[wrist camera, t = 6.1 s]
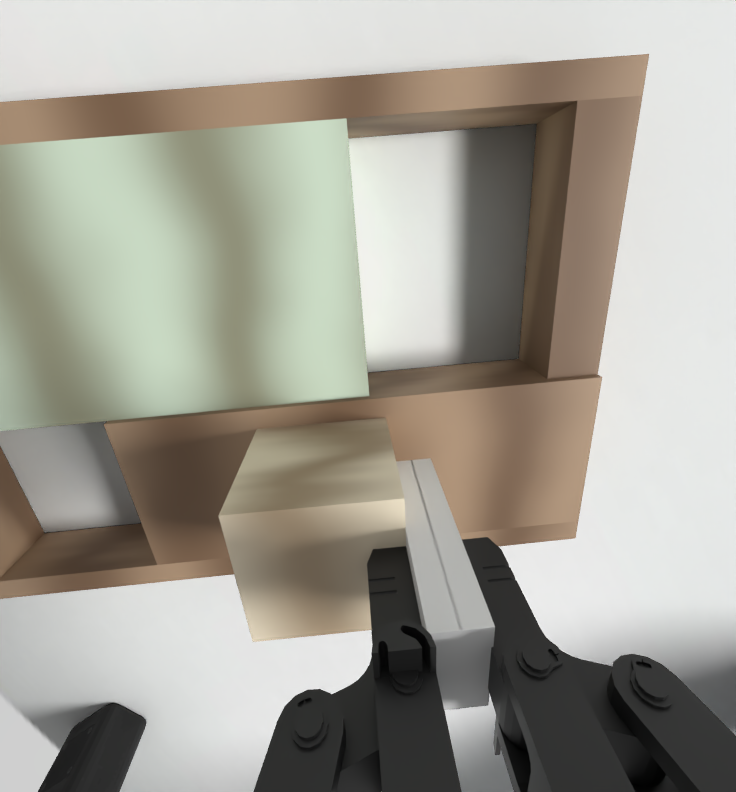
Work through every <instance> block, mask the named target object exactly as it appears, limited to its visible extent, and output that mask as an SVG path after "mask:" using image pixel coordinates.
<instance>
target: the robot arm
mask: <svg viewBox="0 0 736 792" xmlns="http://www.w3.org/2000/svg"><path fill="white" fill-rule="evenodd" d="M396 464H397V468H398V472H399V477H400V481H401V485H402V490H403V494H404V499H405V524H406V528H405V530H406V546H401V547H391V548H381V549H373V550H372V553H371V555H370V558H369V560H368V562H367V571H368V586H369V600H370V614H371V628H372V643H373V647H372V658H371V662H370V665H369V666H368V668H367V670H366V672H365V673H364V674H363V675H362V676H361V677H360V679H359V680H358V681H356V682H354V683H353V684H351V685H350V686H348V687H346V688H344V689H342V690H340V691H338V692H336V693H334V694H330V693H328V692H325V691H323V690H321V689H314V690H306V691H304V692H302V693H300V694H298V695H296V696H295V697H294V698H293V699H292V700H291V701H290V702H289V703H288V704H287V705H286V706H285V707H284V709H283V711H282V713H281V715H280V717H279V719H278V721H277V724H276V727H275V730H274V733H273V736H272V739H271V742H270V745H269V748H268V751H267V754H266V757H265V760H264V763H263V766H262V768H261V771H260V774H259V777H258V780H257V783H256V786H255V789H254V792H381V791H382V792H461V787H460V783H459V778H458V773H457V768H456V764H455V759H454V754H453V749H452V745H451V740H450V735H449V730H448V726H447V721H446V716H445V711H444V710H451V709H460V708H468V707H477V706H486V705H488V702H489V693H490V696H491V699H492V702H493V705H494V709H495V712H496V723H495V733H494V750H495V755H499V754H500V750H502V753H503V756H504V760H505V763H506V766H507V770H508V773H509V776H510V779H511V783H512V786H513V789H514V792H736V736H735V735H734V734H733V733H732V732H731V731H730V730H729V729H728V728H727V727H726V726H725V725H724V724H723V723H722V722H721V721H720V720H719V719H718V718H717V717H716V716H715V715H714V714H713V713H712V712H711V711H710V710H709V709H708V708H707V707H706V706H705V705H704V704H703V703H702V702H701V701H700V700H699V699H698V698H697V697H696V696H695V695H694V694H693V693H692V692H691V691H690V690H689V689H688V688H687V686H686V685H685V684H684V683H683V682H682V681H681V680H680V679H679V678H678V677H677V676H675V675H674V674H673V673H672V672H671V671H669V670H668V669H667V668H666V667H664V666H663V665H662V664H660V663H658V662H656V661H654V660H652V659H650V658H648V657H645V656H640V655H635V654H629V655H623V656H620V657H619V658H618V659H617V660H616V661H614V663H613V667H612V666H608V665H603V664H599V663H594V662H590V661H585V660H581V659H578V658H575V657H572V656H570V655H568V654H566V653H564V652H562V651H561V650H560V649H559V648H558V647H557V646H556V645H555V644H553V643H552V642H551V641H549V640H548V639H547V638H546V637H545V635H544V634H543V632H542V631H541V629H540V627H539V625H538V623H537V621H536V619H535V617H534V615H533V613H532V611H531V609H530V607H529V605H528V603H527V601H526V599H525V597H524V595H523V593H522V591H521V589H520V587H519V585H518V583H517V581H516V580H515V577H514V575H513V573H512V571H511V568H509V564H508V562H507V560H506V558H505V556H504V554H503V552H502V550H501V549H500V548H499V547H498V546H497V545H496V544H495V543H494V542H493V541H492V540H490V539H489V538H488V537H482V538H472V539H461V536H460V534H459V531H458V529H457V526H456V523H455V521H454V518H453V516H452V513H451V510H450V508H449V505H448V502H447V500H446V497H445V495H444V492H443V489H442V487H441V484H440V482H439V479H438V476H437V474H436V471H435V469H434V466H433V463H432V461H431V458H429V459H418V460H408V461H396Z"/></svg>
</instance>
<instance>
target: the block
mask: <svg viewBox="0 0 736 792" xmlns="http://www.w3.org/2000/svg"><path fill="white" fill-rule="evenodd" d="M219 520H220V523H221V527H222V531H223V534H224V538H225V542H226V545H227V549H228V553H229V556H230V560H231V564H232V567H233V571H234V575H235V578H236V582H237V586H238V589H239V593H240V597H241V600H242V604H243V608H244V611H245V615H246V619H247V622H248V626H249V630H250V633H251V637H252V641H253V642H257V641H267V640H277V639H287V638H296V637H306V636H316V635H326V634H336V633H345V632H355V631H365V630H372V628H371V614H370V600H369V586H368V571H367V562H368V560H369V558H370V555H371V553H372V550H373V549H381V548H391V547H401V546H406V530H405V528H406V524H405V499H404V494H403V490H402V485H401V481H400V477H399V472H398V468H397V464H396V459H395V455H394V450H393V446H392V442H391V437H390V433H389V429H388V424H387V420H386V418H377V419H365V420H354V421H343V422H331V423H320V424H308V425H297V426H286V427H274V428H263V429H257V430H256V432H255V434H254V437H253V439H252V441H251V443H250V446H249V448H248V450H247V452H246V455H245V457H244V459H243V461H242V464H241V466H240V468H239V471H238V473H237V475H236V477H235V480H234V482H233V484H232V486H231V489H230V491H229V493H228V495H227V498H226V500H225V502H224V504H223V507H222V509H221V511H220V513H219Z"/></svg>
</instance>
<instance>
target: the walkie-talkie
mask: <svg viewBox="0 0 736 792" xmlns="http://www.w3.org/2000/svg"><path fill="white" fill-rule="evenodd" d="M145 726H146V720H145V719H144V718H143V717H141V716H139V715H137V714H136V713H134V712H132V711H130V710H128V709H126V708H124V707H122V706H120V705H118V704H110V705H107V706H105V707H103V708H102V709H100V710H99V711H97V712H96V713H94V714H93V715H91V716H90V717H88V718H87V719H85V720H84V721H82V722H81V723H79V724H78V725H76V726H75V727H74V728H73V729H72V730H71V732H70V734H69V736H68V737H67V739H66V741H65V743H64V745H63V746H62V748H61V750H60V752H59V754H58V756H57V757H56V759H55V761H54V763H53V765H52V767H51V769H50V771H49V772H48V774H47V776H46V778H45V780H44V781H43V783H42V785H41V787H40V789H39V790H38V792H119V791H120V789H121V786H122V784H123V781H124V779H125V776H126V774H127V771H128V769H129V766H130V764H131V761H132V759H133V756H134V754H135V751H136V749H137V746H138V744H139V741H140V739H141V736H142V734H143V731H144V729H145Z"/></svg>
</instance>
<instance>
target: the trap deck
mask: <svg viewBox="0 0 736 792" xmlns="http://www.w3.org/2000/svg"><path fill="white" fill-rule="evenodd" d="M648 58H649V54H643V55H630V56H616V57H603V58H589V59H576V60H562V61H549V62H535V63H522V64H508V65H495V66H481V67H468V68H455V69H441V70H428V71H414V72H401V73H387V74H374V75H360V76H347V77H333V78H320V79H306V80H293V81H279V82H266V83H253V84H239V85H226V86H212V87H199V88H185V89H172V90H158V91H145V92H131V93H118V94H104V95H91V96H77V97H64V98H51V99H37V100H24V101H10V102H0V431H8V430H18V429H29V428H39V427H50V426H60V425H71V424H81V423H92V422H103V421H107V422H106V423H105V424H104V427H105V430H106V432H107V435H108V437H109V440H110V443H111V445H112V448H113V451H114V453H115V456H116V458H117V461H118V464H119V466H120V469H121V471H122V474H123V477H124V479H125V482H126V484H127V487H128V490H129V492H130V495H131V498H132V500H133V503H134V505H135V508H136V511H137V513H138V516H139V518H140V521H141V524H131V525H122V526H112V527H102V528H92V529H82V530H72V531H62V532H53V533H44V531H43V529H42V527H41V525H40V523H39V521H38V519H37V517H36V515H35V514H34V512H33V510H32V508H31V506H30V504H29V502H28V500H27V498H26V496H25V494H24V492H23V490H22V488H21V486H20V484H19V482H18V480H17V478H16V476H15V474H14V472H13V470H12V469H11V467H10V465H9V463H8V461H7V459H6V457H5V455H4V453H3V451H2V449H1V447H0V599H3V598H12V597H22V596H31V595H41V594H50V593H60V592H69V591H79V590H88V589H98V588H107V587H117V586H126V585H136V584H145V583H155V582H164V581H174V580H183V579H193V578H202V577H212V576H221V575H231V574H234V571H233V567H232V564H231V560H230V556H229V553H228V549H227V545H226V542H225V538H224V534H223V531H222V527H221V523H220V520H219V513H220V511H221V509H222V507H223V504H224V502H225V500H226V498H227V495H228V493H229V491H230V489H231V486H232V484H233V482H234V480H235V477H236V475H237V473H238V471H239V468H240V466H241V464H242V461H243V459H244V457H245V455H246V452H247V450H248V448H249V446H250V443H251V441H252V439H253V437H254V434H255V432H256V430H257V429H263V428H274V427H286V426H297V425H308V424H320V423H331V422H343V421H354V420H365V419H377V418H386V420H387V424H388V429H389V433H390V437H391V442H392V446H393V450H394V455H395V459H396V461H408V460H418V459H429V458H431V461H432V463H433V466H434V469H435V471H436V474H437V476H438V479H439V482H440V484H441V487H442V489H443V492H444V495H445V497H446V500H447V502H448V505H449V508H450V510H451V513H452V516H453V518H454V521H455V523H456V526H457V529H458V531H459V534H460V536H461V539H472V538H482V537H488V538H489V539H490V540H492V541H493V542H494V543H495V544H496V545H497V546H506V545H516V544H525V543H535V542H544V541H554V540H563V539H573V538H575V537H576V531H577V525H578V519H579V513H580V507H581V501H582V495H583V489H584V483H585V477H586V471H587V465H588V459H589V453H590V447H591V441H592V435H593V429H594V423H595V417H596V411H597V405H598V399H599V393H600V387H601V381H602V377H601V376H599V375H597V374H598V368H599V362H600V356H601V349H602V343H603V337H604V331H605V325H606V318H607V312H608V306H609V300H610V294H611V287H612V281H613V275H614V269H615V263H616V256H617V250H618V244H619V238H620V232H621V225H622V219H623V213H624V207H625V200H626V194H627V188H628V182H629V176H630V169H631V163H632V157H633V151H634V145H635V138H636V132H637V126H638V120H639V114H640V107H641V101H642V95H643V89H644V83H645V76H646V70H647V64H648ZM526 124H537V126H536V139H535V152H534V165H533V178H532V191H531V204H530V217H529V231H528V244H527V257H526V270H525V283H524V296H523V309H522V322H521V335H520V348H519V359H512V360H501V361H490V362H479V363H469V364H458V365H447V366H437V367H426V368H415V369H404V370H394V371H383V372H372V373H367V361H366V349H365V337H364V325H363V313H362V300H361V288H360V276H359V264H358V252H357V240H356V228H355V216H354V204H353V192H352V180H351V167H350V155H349V143H348V138H360V137H373V136H385V135H398V134H411V133H424V132H437V131H449V130H462V129H475V128H488V127H500V126H513V125H526Z"/></svg>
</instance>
